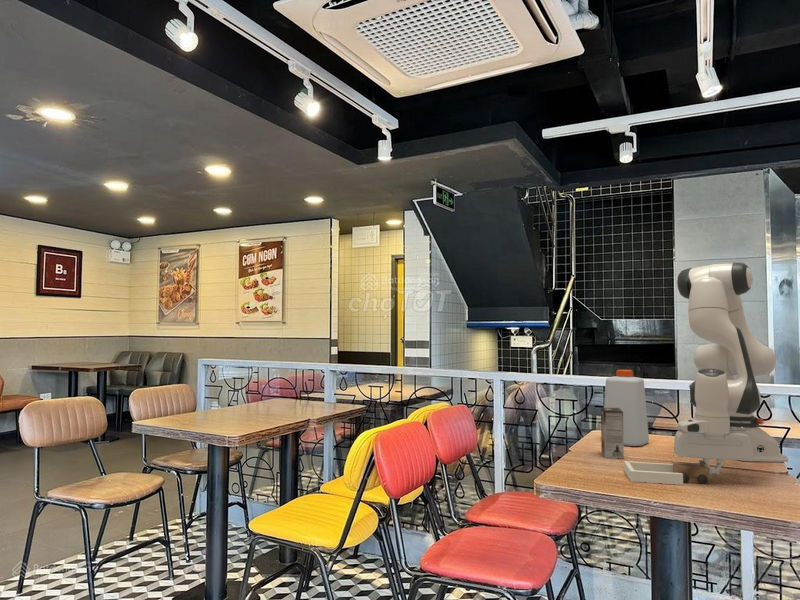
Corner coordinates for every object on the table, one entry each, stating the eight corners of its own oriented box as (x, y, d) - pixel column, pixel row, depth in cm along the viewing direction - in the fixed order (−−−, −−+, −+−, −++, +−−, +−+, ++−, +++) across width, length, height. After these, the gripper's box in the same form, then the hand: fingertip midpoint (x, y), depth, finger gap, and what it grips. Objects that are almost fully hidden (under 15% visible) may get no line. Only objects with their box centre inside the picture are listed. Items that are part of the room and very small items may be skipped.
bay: (672, 473, 173) (672, 463, 173) (683, 485, 160) (682, 474, 160) (624, 470, 176) (624, 461, 176) (630, 481, 163) (630, 471, 164)
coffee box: (600, 452, 202) (600, 407, 203) (619, 453, 201) (619, 407, 202) (604, 458, 193) (604, 410, 194) (624, 459, 192) (624, 411, 193)
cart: (701, 477, 168) (701, 459, 168) (709, 484, 161) (709, 465, 161) (672, 476, 170) (672, 457, 170) (678, 482, 163) (678, 463, 163)
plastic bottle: (612, 437, 231) (611, 368, 232) (651, 442, 221) (650, 370, 223) (598, 443, 219) (598, 370, 221) (639, 448, 210) (638, 372, 211)
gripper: (748, 425, 166) (749, 473, 165) (672, 422, 170) (672, 469, 169) (756, 429, 159) (757, 479, 159) (677, 425, 164) (678, 474, 163)
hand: (713, 474), depth 164 cm, fingers closed
